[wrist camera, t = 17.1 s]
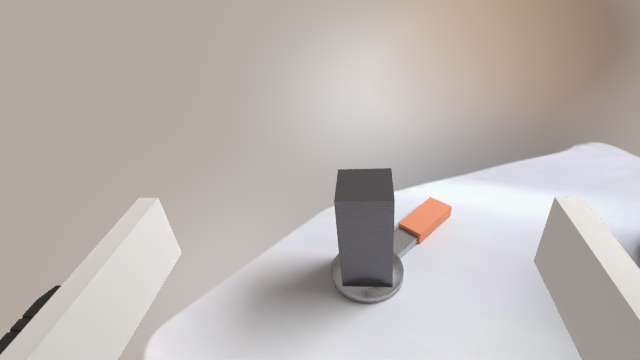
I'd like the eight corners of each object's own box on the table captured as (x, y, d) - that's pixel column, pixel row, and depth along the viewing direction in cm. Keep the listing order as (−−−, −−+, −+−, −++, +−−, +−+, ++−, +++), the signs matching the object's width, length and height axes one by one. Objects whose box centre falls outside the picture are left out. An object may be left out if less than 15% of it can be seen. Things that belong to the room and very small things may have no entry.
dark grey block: (344, 250, 49) (338, 169, 42) (389, 250, 48) (391, 168, 41) (342, 286, 44) (334, 201, 37) (392, 287, 43) (394, 200, 36)
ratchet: (371, 317, 41) (371, 294, 39) (318, 276, 47) (315, 254, 45) (468, 221, 53) (472, 200, 51) (416, 198, 59) (418, 177, 57)
